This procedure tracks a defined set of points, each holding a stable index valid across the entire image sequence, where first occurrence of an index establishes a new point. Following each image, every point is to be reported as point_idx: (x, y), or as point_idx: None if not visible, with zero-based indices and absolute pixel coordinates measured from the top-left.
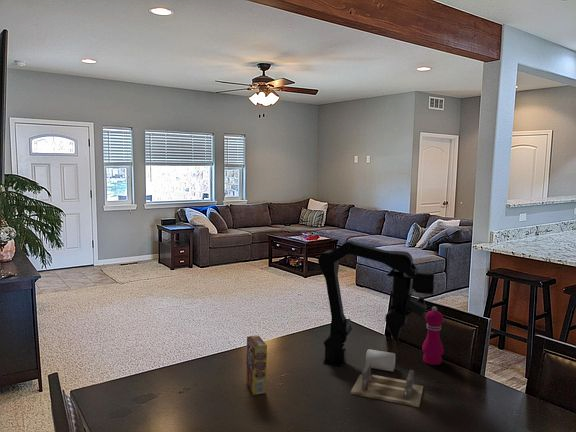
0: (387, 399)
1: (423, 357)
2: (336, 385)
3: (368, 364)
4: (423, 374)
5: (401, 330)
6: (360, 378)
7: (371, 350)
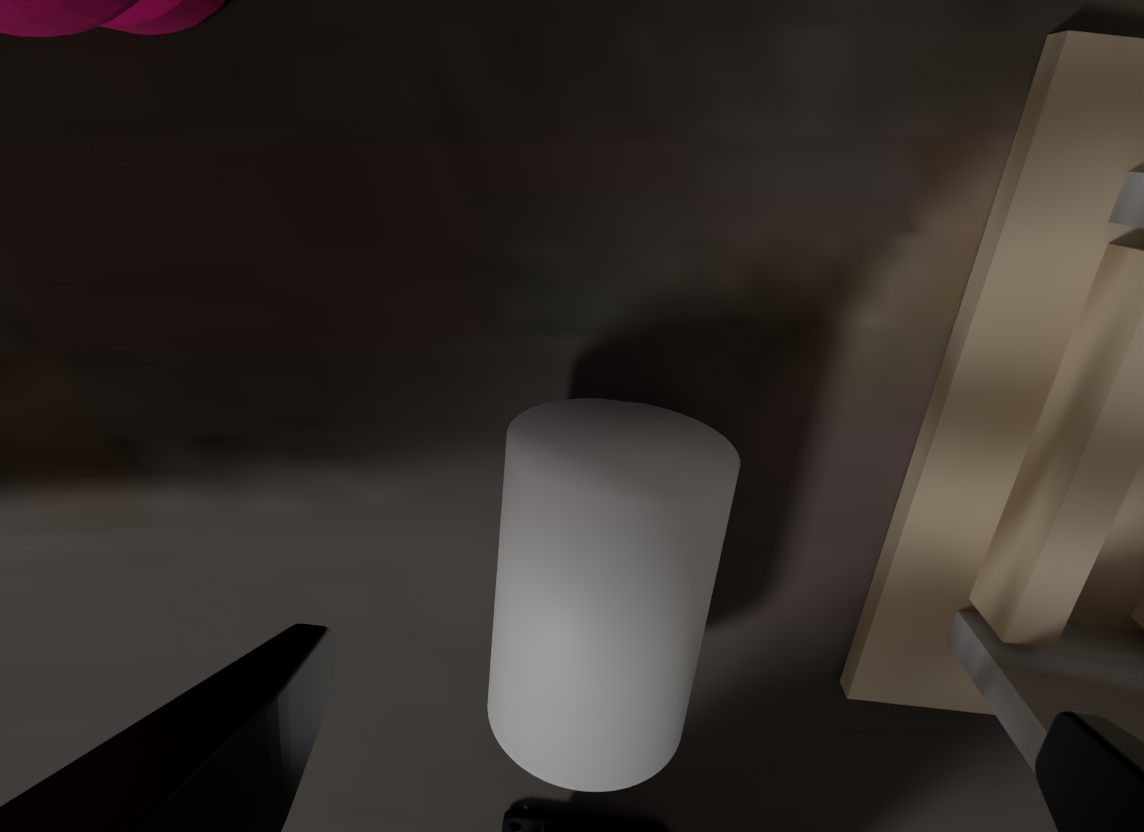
0: None
1: (153, 24)
2: (1029, 816)
3: None
4: (622, 30)
5: (318, 640)
6: (936, 689)
7: (594, 756)
